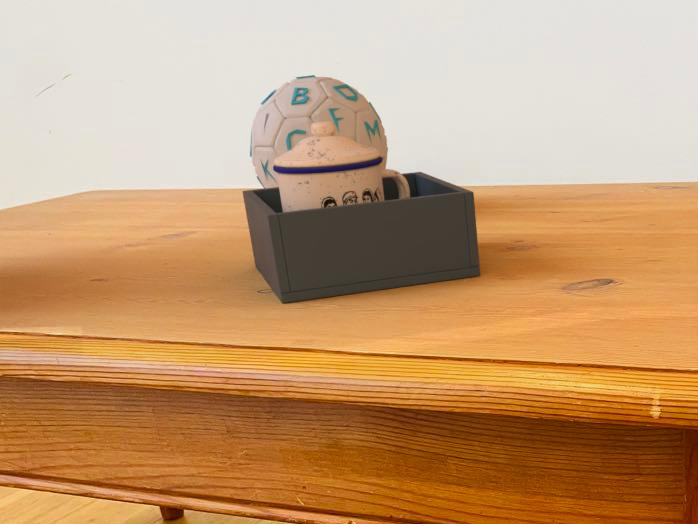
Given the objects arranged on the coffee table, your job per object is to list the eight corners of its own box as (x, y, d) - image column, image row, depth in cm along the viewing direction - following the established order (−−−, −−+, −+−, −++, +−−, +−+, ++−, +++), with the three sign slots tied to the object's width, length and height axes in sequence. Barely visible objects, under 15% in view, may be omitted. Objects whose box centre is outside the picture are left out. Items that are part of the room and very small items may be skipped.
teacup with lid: (319, 281, 88) (297, 130, 83) (271, 267, 94) (247, 126, 89) (442, 256, 94) (428, 114, 89) (388, 245, 101) (373, 112, 96)
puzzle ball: (407, 204, 129) (392, 68, 122) (378, 227, 115) (359, 75, 109) (285, 210, 130) (264, 76, 124) (242, 233, 117) (216, 84, 110)
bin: (282, 303, 85) (267, 215, 82) (255, 267, 99) (242, 190, 96) (480, 275, 90) (473, 191, 87) (428, 244, 104) (420, 171, 101)
